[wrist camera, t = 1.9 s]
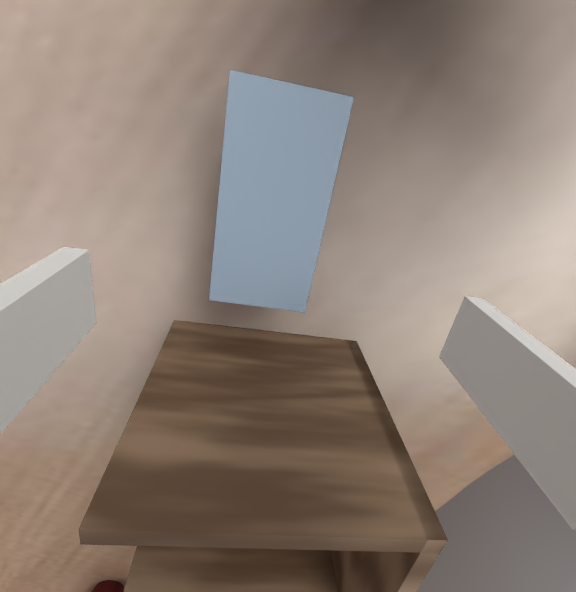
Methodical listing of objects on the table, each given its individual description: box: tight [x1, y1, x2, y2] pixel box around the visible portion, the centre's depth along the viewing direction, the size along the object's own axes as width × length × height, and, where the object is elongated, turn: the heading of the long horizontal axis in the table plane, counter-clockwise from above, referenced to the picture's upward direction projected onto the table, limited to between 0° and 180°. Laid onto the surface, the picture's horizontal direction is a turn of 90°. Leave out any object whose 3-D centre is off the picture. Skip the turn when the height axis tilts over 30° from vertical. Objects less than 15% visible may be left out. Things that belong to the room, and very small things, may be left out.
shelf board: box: [209, 70, 354, 312], centre depth 23 cm, size 14×7×2 cm, turn 170°
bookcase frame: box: [79, 320, 448, 592], centre depth 30 cm, size 18×19×20 cm
